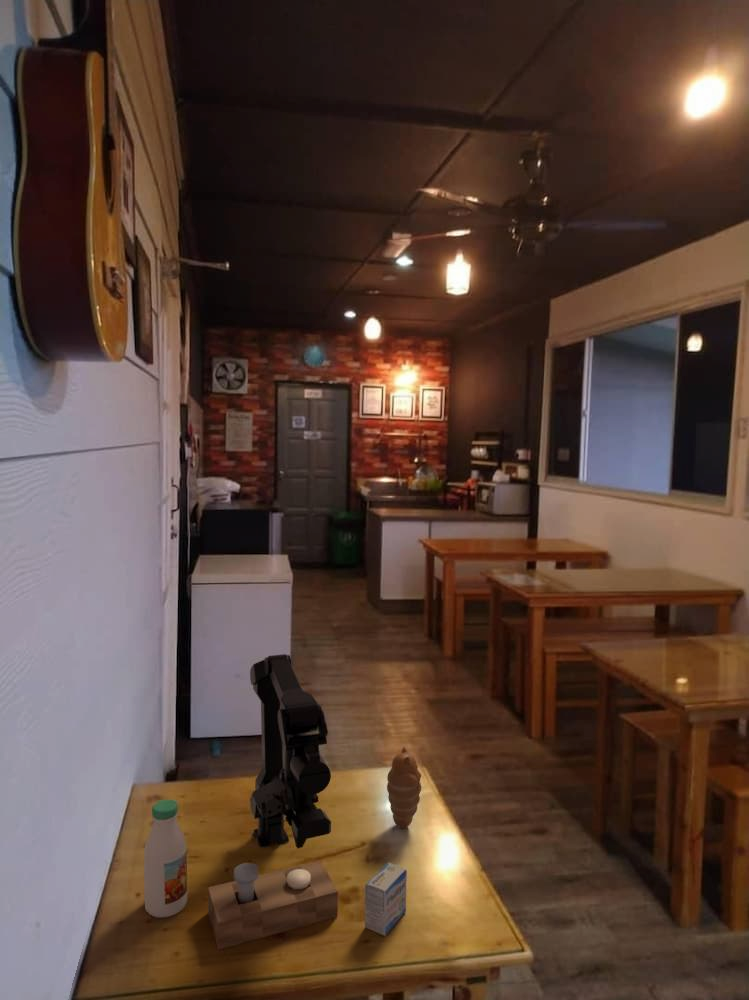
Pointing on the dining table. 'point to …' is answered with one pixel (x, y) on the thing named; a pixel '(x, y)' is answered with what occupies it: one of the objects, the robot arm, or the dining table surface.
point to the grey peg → (246, 881)
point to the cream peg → (298, 879)
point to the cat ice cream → (403, 788)
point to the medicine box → (385, 898)
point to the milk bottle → (165, 862)
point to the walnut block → (271, 906)
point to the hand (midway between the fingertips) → (299, 846)
